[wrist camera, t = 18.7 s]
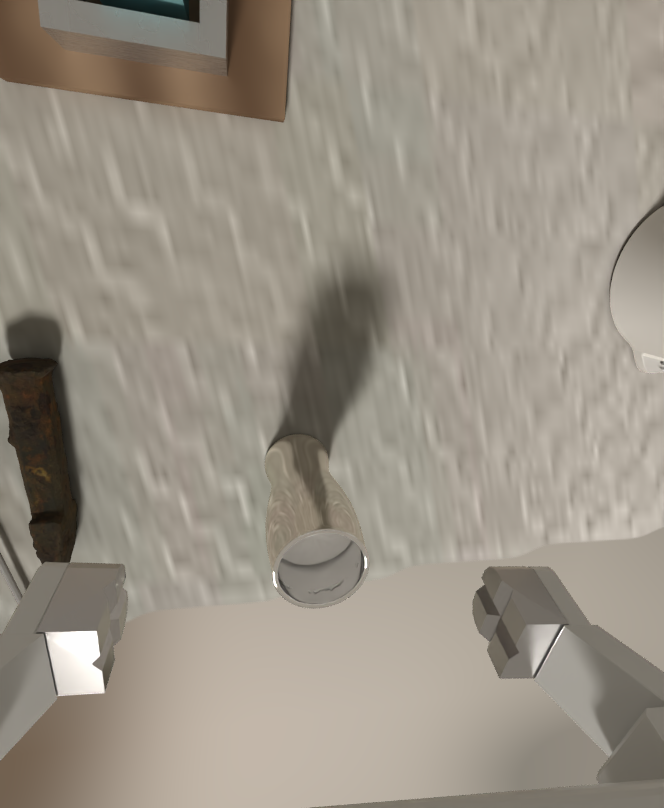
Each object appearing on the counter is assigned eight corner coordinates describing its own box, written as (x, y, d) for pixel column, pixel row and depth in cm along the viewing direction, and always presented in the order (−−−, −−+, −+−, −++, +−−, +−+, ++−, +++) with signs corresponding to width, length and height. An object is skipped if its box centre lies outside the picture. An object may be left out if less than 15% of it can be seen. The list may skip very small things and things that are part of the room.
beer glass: (260, 429, 43) (270, 529, 29) (335, 428, 44) (378, 524, 31) (258, 494, 45) (267, 615, 32) (329, 492, 47) (367, 607, 33)
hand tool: (5, 352, 37) (-25, 370, 33) (61, 354, 38) (38, 372, 33) (40, 549, 44) (18, 585, 40) (86, 547, 45) (70, 582, 40)
